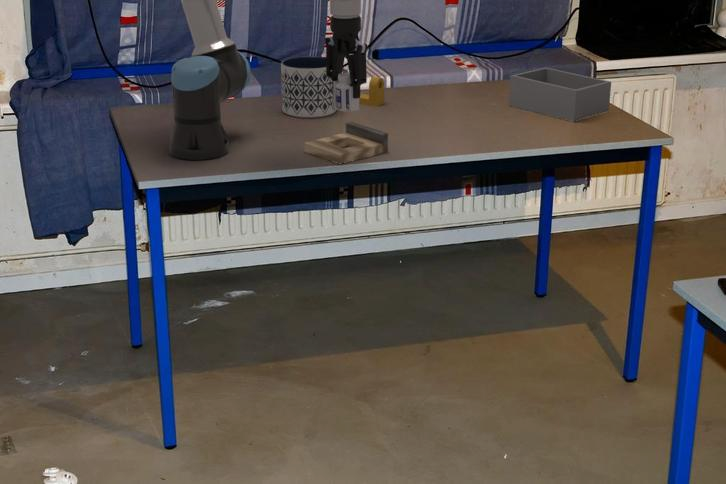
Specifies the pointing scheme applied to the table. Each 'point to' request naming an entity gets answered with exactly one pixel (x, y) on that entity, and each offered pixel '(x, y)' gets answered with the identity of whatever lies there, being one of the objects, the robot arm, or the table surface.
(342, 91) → the pill bottle
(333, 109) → the planter
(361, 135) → the jig
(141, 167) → the table surface
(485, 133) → the table surface
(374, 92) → the bracket
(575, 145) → the table surface
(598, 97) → the open gray rectangular box
